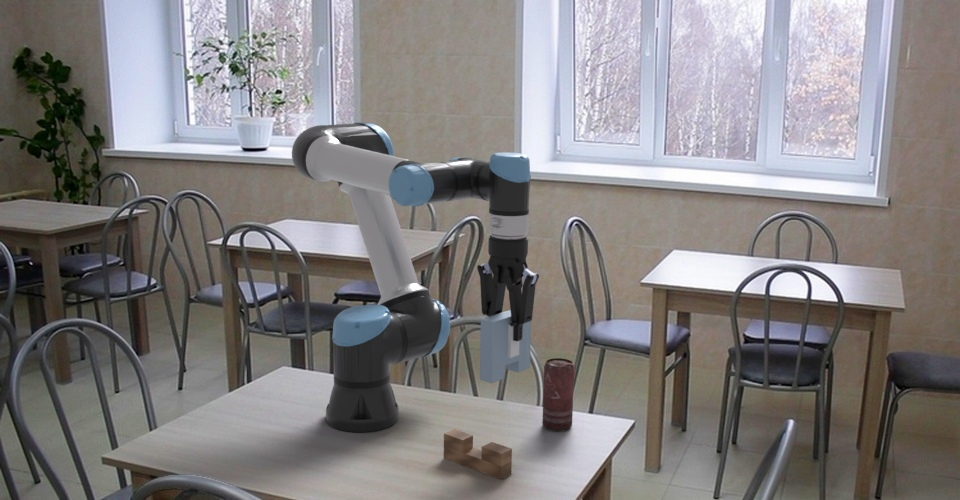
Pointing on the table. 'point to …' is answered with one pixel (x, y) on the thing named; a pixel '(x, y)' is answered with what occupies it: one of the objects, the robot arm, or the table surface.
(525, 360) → the pale blue upright slab
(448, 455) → the walnut u-shaped block
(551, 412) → the can
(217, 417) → the table surface
